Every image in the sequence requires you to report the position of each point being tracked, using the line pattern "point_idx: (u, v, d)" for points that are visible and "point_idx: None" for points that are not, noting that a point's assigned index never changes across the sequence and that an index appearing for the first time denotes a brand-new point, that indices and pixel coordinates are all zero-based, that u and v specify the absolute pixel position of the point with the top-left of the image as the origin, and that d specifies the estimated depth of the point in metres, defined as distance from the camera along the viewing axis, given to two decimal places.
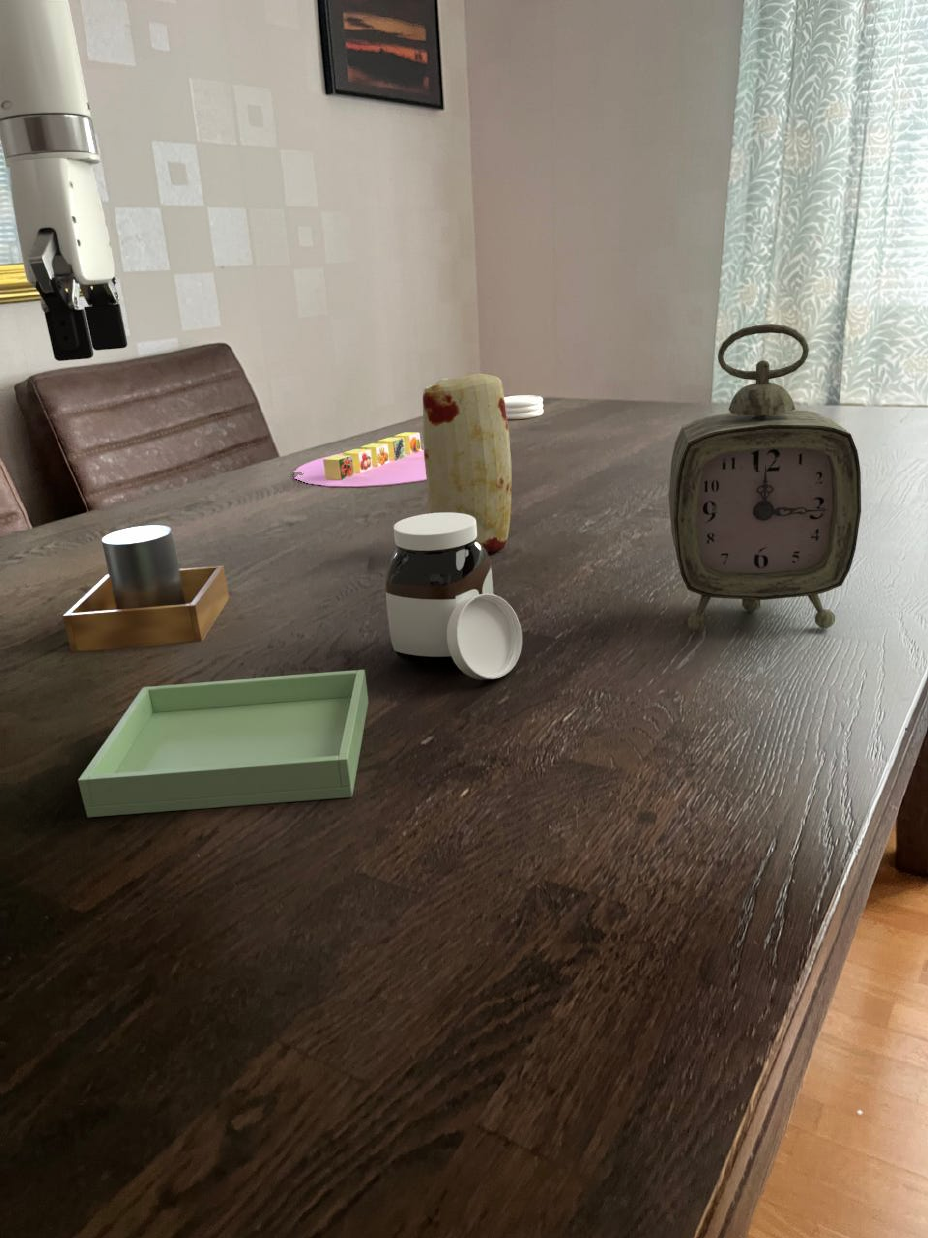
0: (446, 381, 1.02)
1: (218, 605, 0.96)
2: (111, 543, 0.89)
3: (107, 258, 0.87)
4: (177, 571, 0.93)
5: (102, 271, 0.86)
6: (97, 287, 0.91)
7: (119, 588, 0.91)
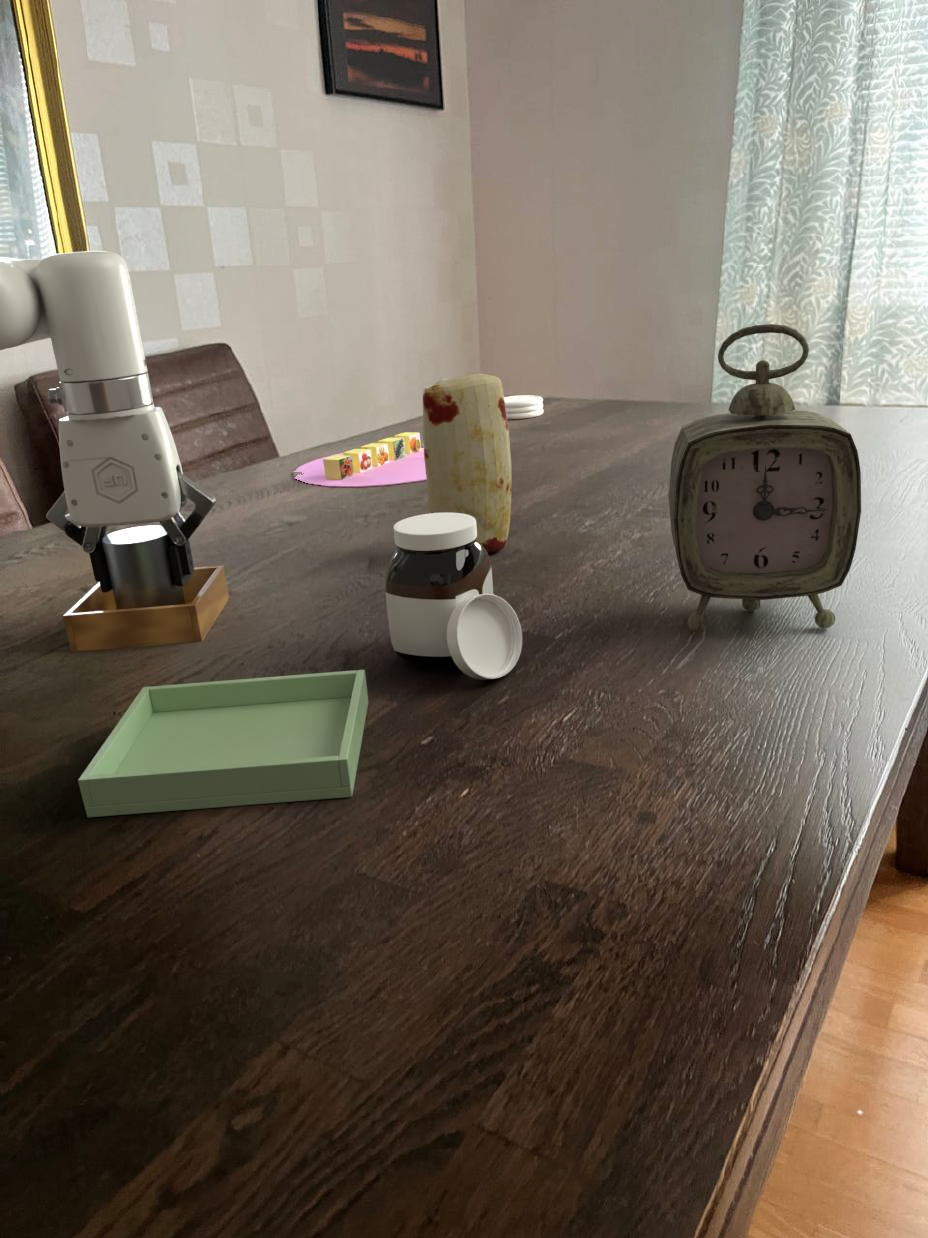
0: (446, 381, 1.02)
1: (218, 605, 0.96)
2: (111, 543, 0.89)
3: None
4: None
5: None
6: None
7: (119, 588, 0.91)
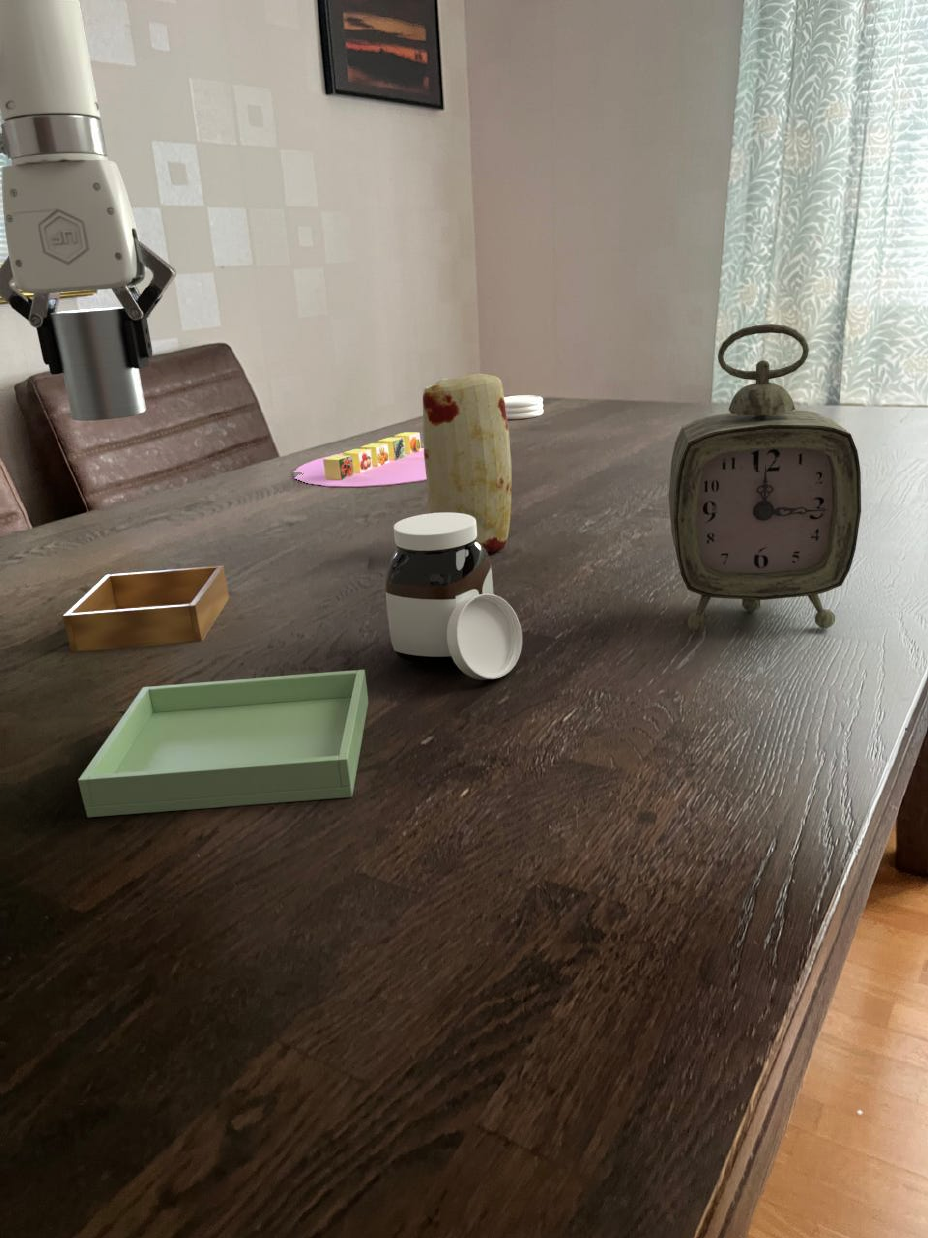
0: (446, 381, 1.02)
1: (218, 605, 0.96)
2: (60, 313, 0.81)
3: None
4: None
5: None
6: None
7: (69, 366, 0.83)
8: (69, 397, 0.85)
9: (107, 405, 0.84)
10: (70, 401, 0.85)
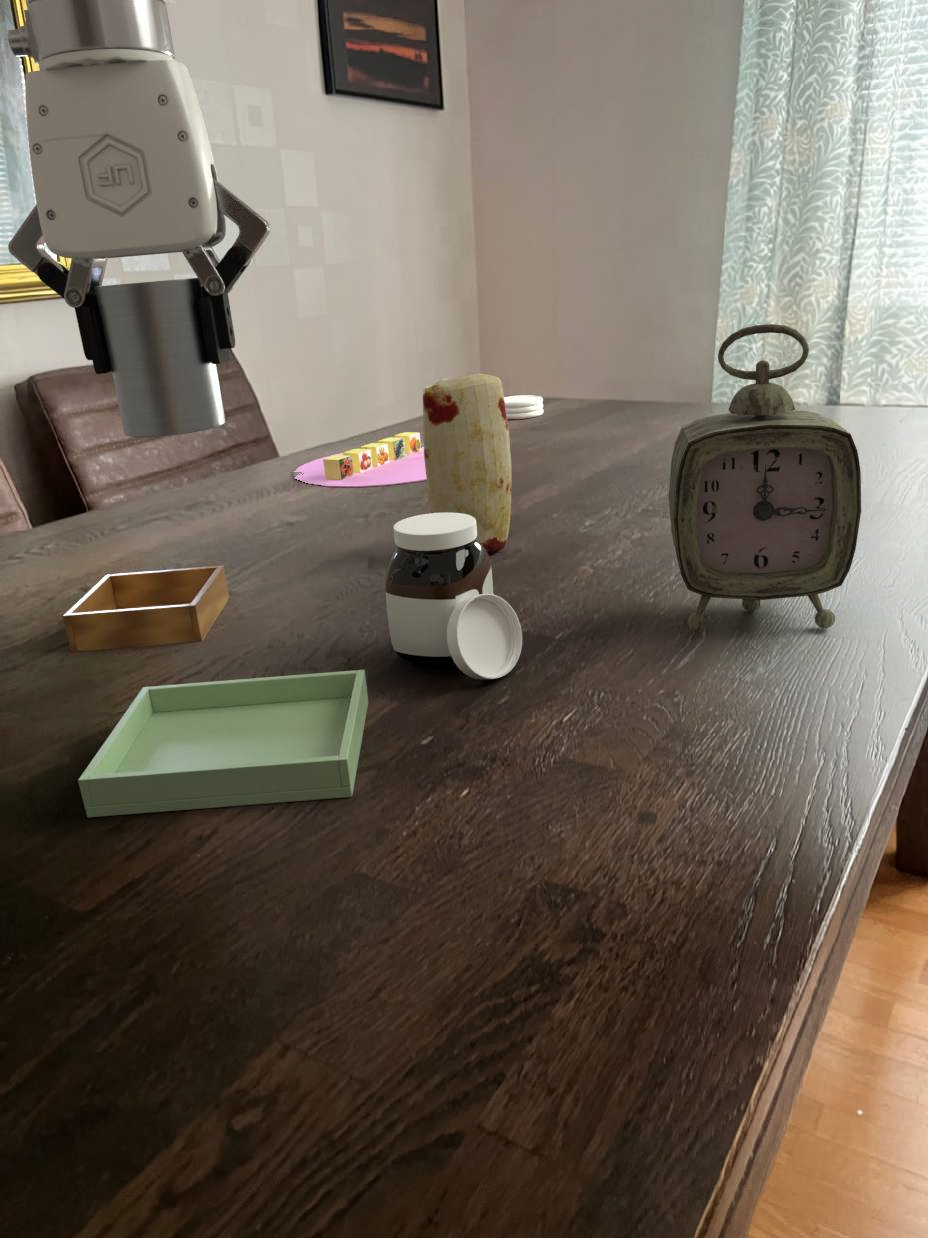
0: (446, 381, 1.02)
1: (218, 605, 0.96)
2: (110, 285, 0.57)
3: None
4: None
5: None
6: None
7: (123, 361, 0.59)
8: (121, 405, 0.60)
9: (175, 415, 0.60)
10: (122, 410, 0.60)
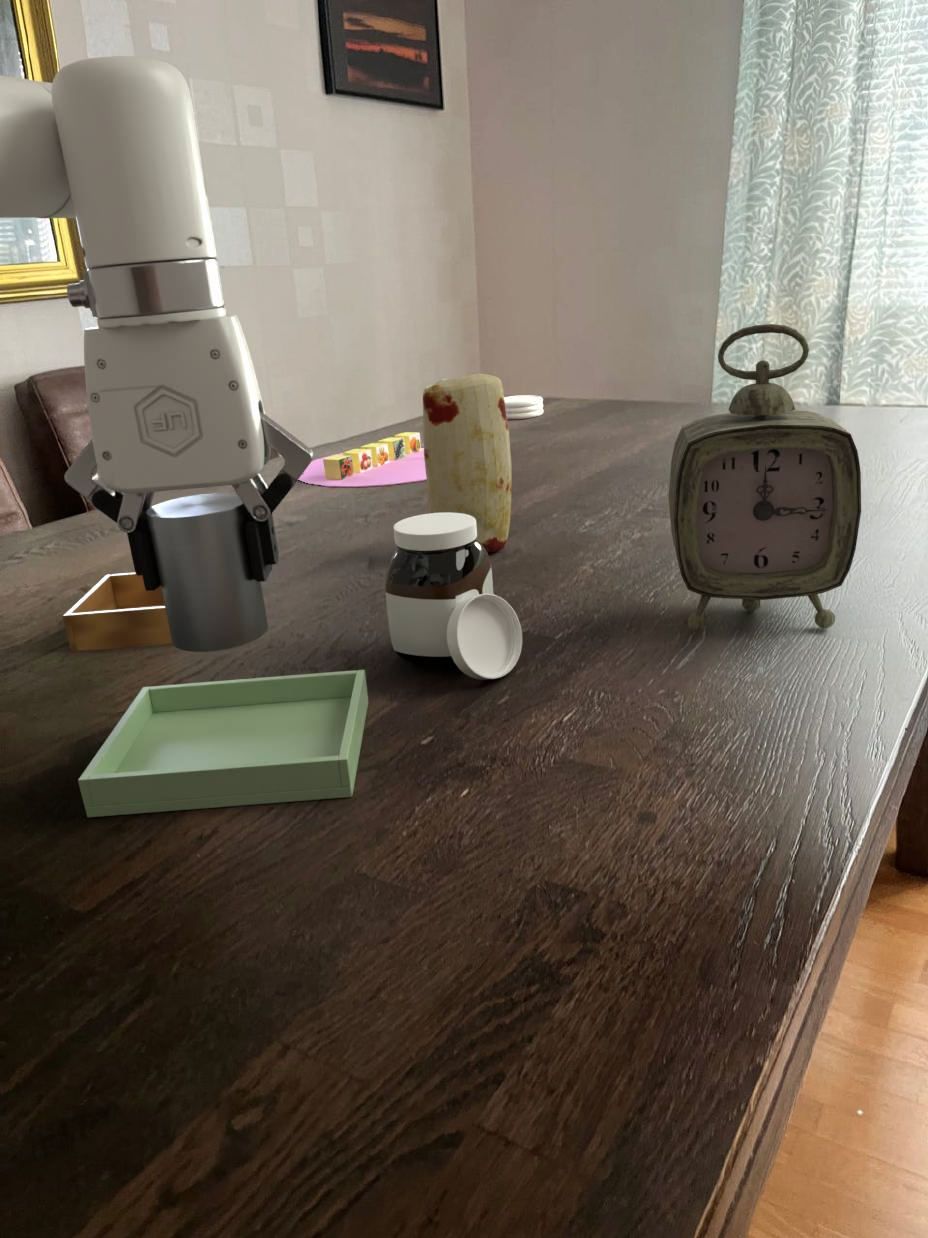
0: (446, 381, 1.02)
1: None
2: (162, 517, 0.60)
3: None
4: None
5: None
6: None
7: (173, 584, 0.61)
8: (169, 620, 0.63)
9: (222, 632, 0.62)
10: (171, 625, 0.63)
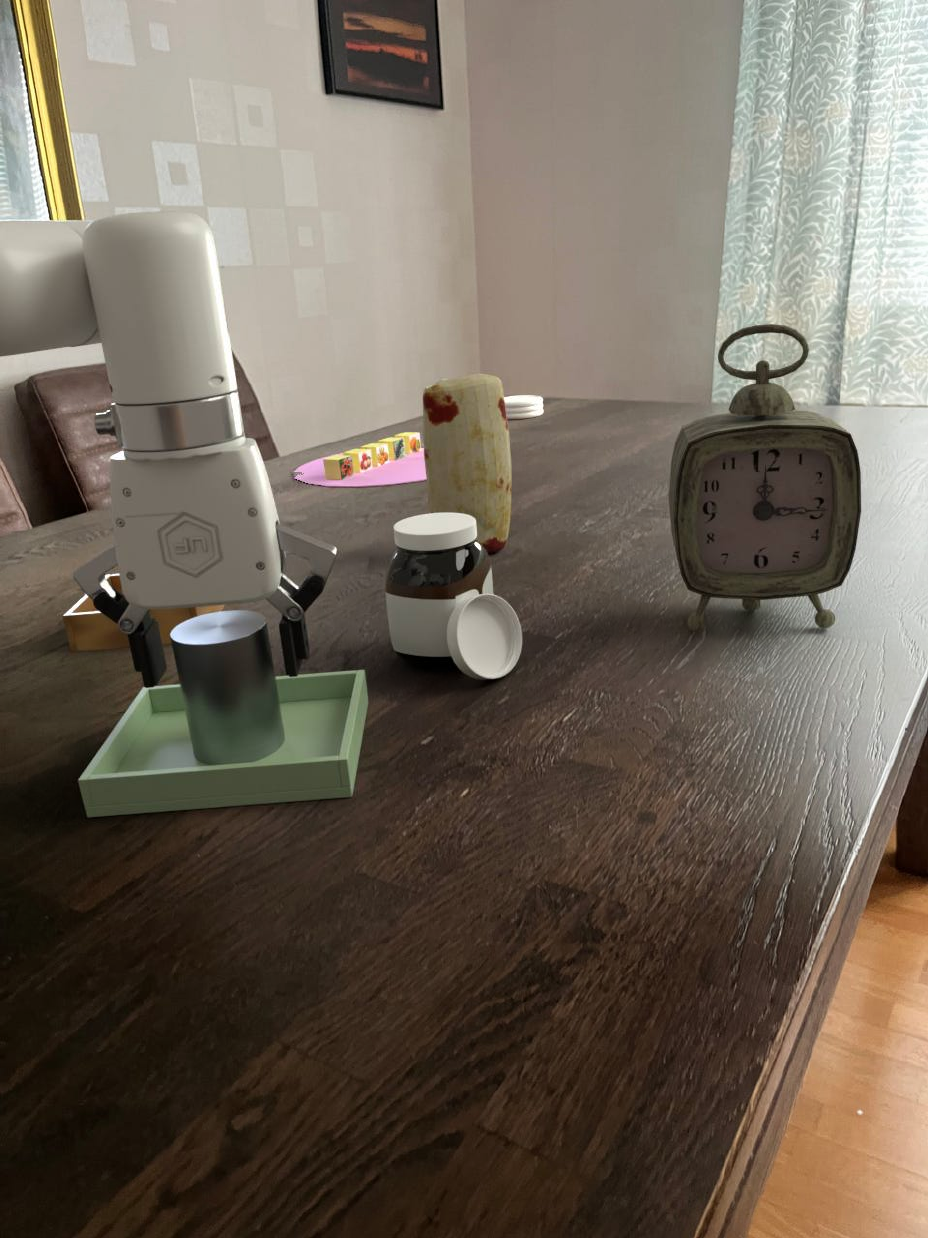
0: (446, 381, 1.02)
1: (218, 605, 0.96)
2: (186, 643, 0.63)
3: None
4: (273, 676, 0.67)
5: None
6: (126, 606, 0.64)
7: (195, 704, 0.64)
8: (192, 735, 0.66)
9: (242, 748, 0.65)
10: (193, 740, 0.66)
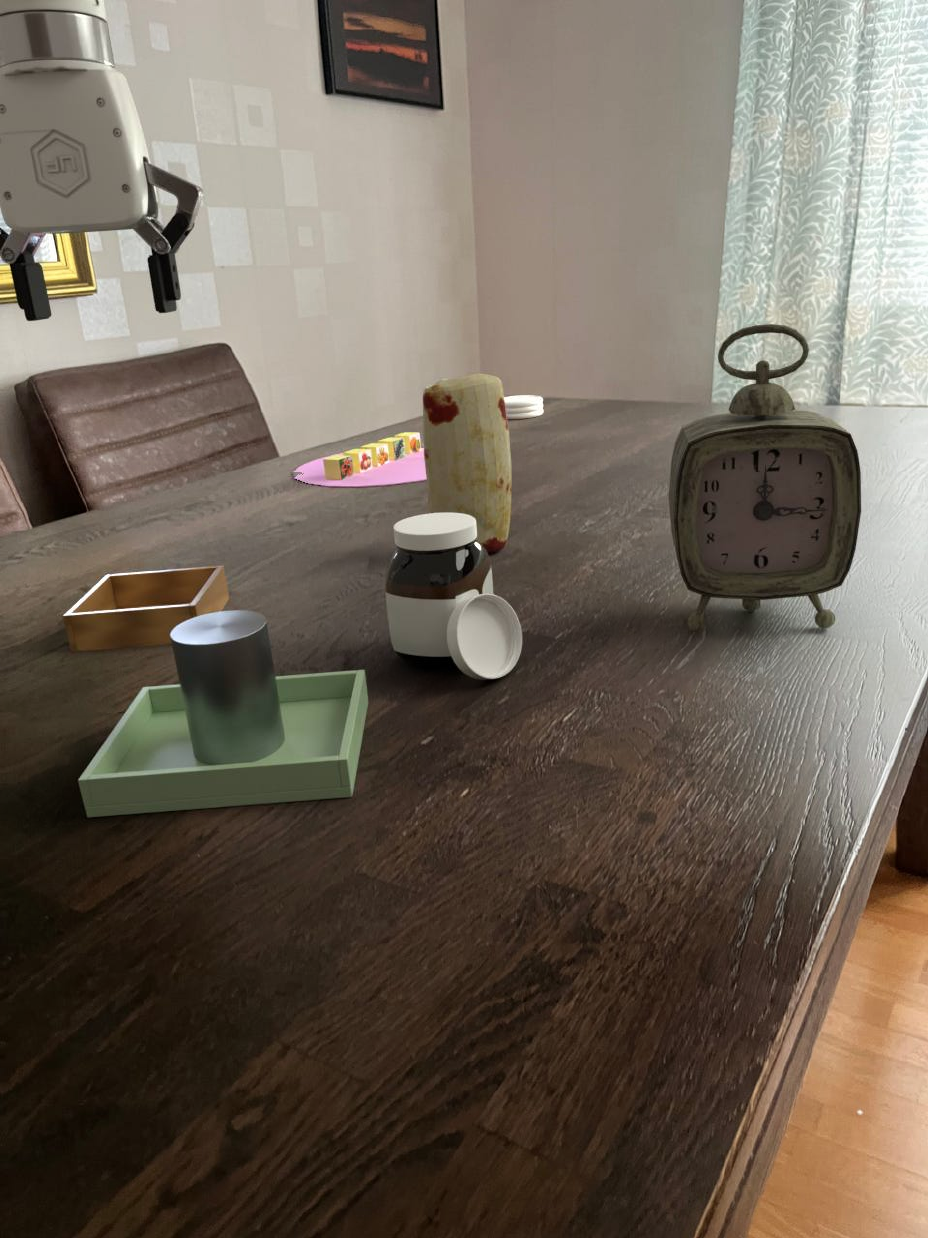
0: (446, 381, 1.02)
1: (218, 605, 0.96)
2: (186, 643, 0.63)
3: None
4: (273, 676, 0.67)
5: None
6: None
7: (195, 704, 0.64)
8: (192, 735, 0.66)
9: (242, 748, 0.65)
10: (193, 740, 0.66)
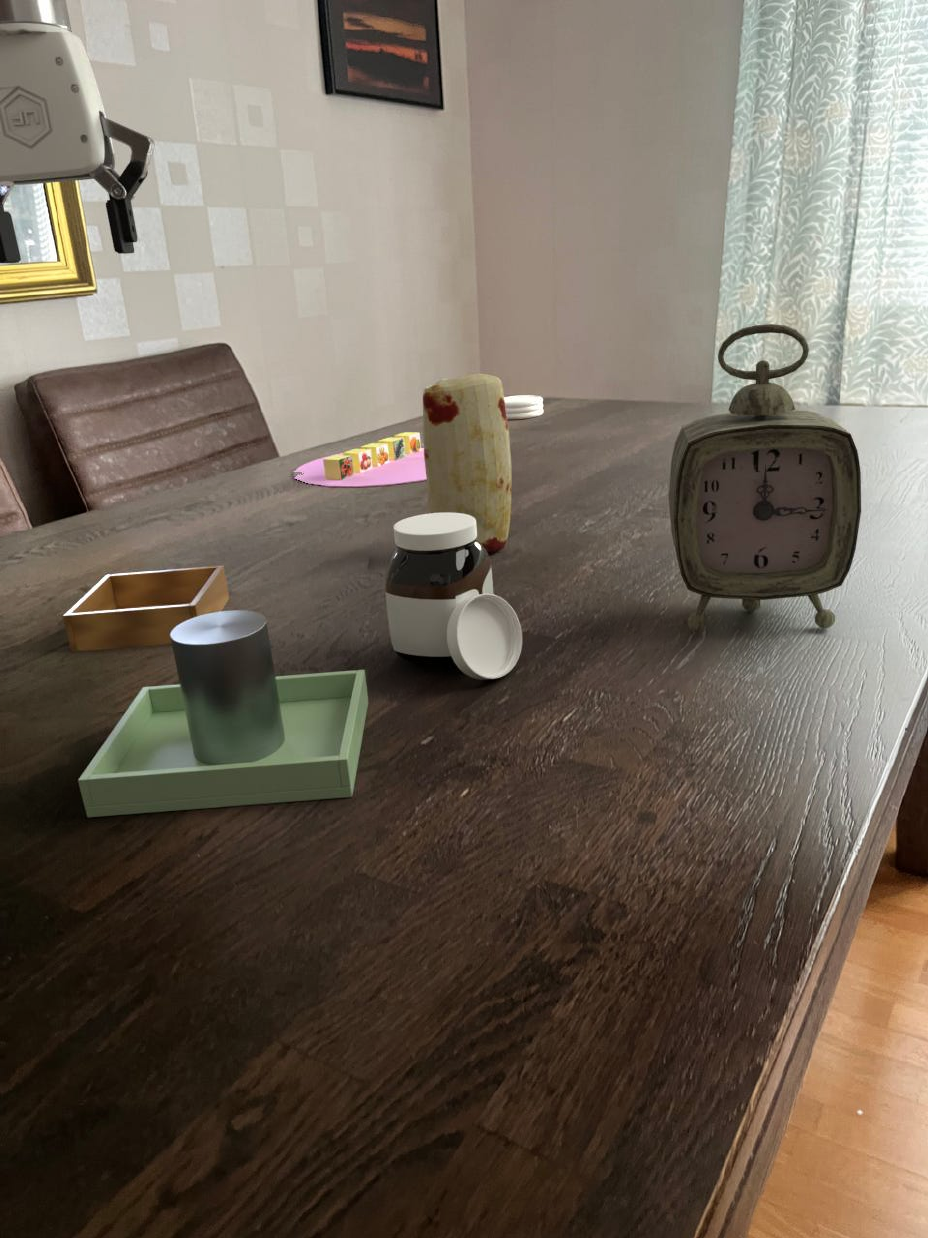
0: (446, 381, 1.02)
1: (218, 605, 0.96)
2: (186, 643, 0.63)
3: None
4: (273, 676, 0.67)
5: None
6: None
7: (195, 704, 0.64)
8: (192, 735, 0.66)
9: (242, 748, 0.65)
10: (193, 740, 0.66)
